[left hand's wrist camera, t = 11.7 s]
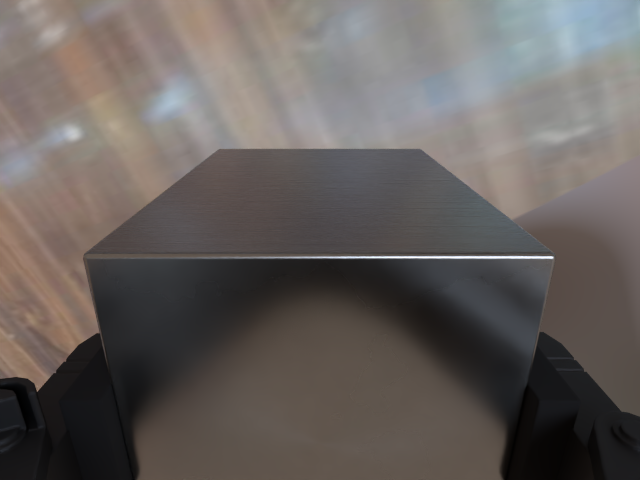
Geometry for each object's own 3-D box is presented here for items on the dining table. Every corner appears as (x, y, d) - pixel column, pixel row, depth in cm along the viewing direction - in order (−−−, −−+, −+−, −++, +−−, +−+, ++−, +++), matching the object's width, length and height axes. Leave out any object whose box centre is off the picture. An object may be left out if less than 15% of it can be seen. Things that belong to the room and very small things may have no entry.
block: (421, 148, 17) (559, 254, 7) (405, 329, 20) (487, 574, 10) (217, 148, 17) (79, 254, 7) (233, 329, 20) (152, 574, 10)
